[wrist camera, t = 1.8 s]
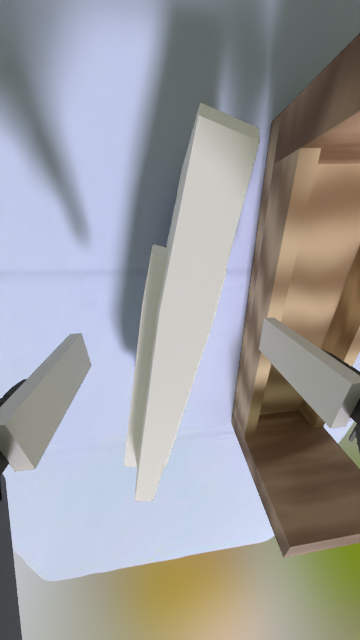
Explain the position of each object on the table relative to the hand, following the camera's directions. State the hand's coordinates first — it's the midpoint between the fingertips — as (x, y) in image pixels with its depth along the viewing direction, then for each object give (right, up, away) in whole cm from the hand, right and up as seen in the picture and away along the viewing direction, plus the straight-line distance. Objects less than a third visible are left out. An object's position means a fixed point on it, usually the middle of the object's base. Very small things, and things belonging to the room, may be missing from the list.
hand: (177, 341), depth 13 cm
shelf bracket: (-1, +3, +7) cm, 8 cm away
